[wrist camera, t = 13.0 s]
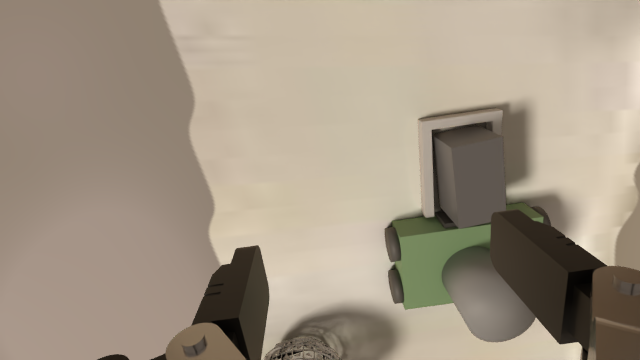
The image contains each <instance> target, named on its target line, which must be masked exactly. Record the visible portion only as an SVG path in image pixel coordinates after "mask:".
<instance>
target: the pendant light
mask: <svg viewBox="0 0 640 360" xmlns="http://www.w3.org/2000/svg"><path fill="white" fill-rule="evenodd" d="M296 341H297V342H296ZM301 341H303V342H301ZM304 341H307V342H306V343H304ZM310 341H311V342H312V343H311V342H310ZM294 342H296V343H295V344H294ZM302 345H303V349H302V350H301V349H299V348H300V347H301V346H302ZM295 346H296V347H297V349H299V350H293V347H295ZM304 346H306V347H307V348H309V349H304ZM314 346H316V348H318V349H316V348H315V347H314ZM285 348H287V349H286V352H283V351H285V350H284V349H285ZM291 349H292V350H291ZM321 349H322V350H321ZM290 350H291V351H290ZM304 351H314V359H311V358H305V357H304ZM320 351H321V352H320ZM333 351H334V352H333ZM280 352H282V353H281V354H280ZM299 352H300V353H301V352H303V358H293V354H296V353H298V354H296V355H295V356H300V353H299ZM315 352H316V353H317V354H318V355H317V357H319V358H320V359H318V358H316V359H315ZM275 354H277V355H275ZM319 354H322V355H323V357H322V356H319ZM290 355H292V358H291V359H288V358H290V357H289V356H290ZM306 355H309V356H311V355H310V354H309V353H307V354H306ZM283 357H284V358H285V359H287V360H294V359H303V360H322V358H323V359H324V360H340V358H339V357H338V354H337V353H336V352H335V350H334V349H332V348H330V347H329V346H328V345H327V344H325V343H322V342H321V341H318V340H316V339H315V340H314V339H312V338H306V337H295V338H292V339H290V340H287V341H282V342H281V343H278V344H276V346H275V347H274V349H272V350H271V351H270V352H268V353H267V354H266V356H265V357H264V359H263V360H278V359H280V358H281V360H284V359H283ZM311 357H312V356H311ZM325 358H326V359H325ZM327 358H328V359H327Z"/></svg>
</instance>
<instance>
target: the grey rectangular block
mask: <svg viewBox="0 0 640 360" xmlns="http://www.w3.org/2000/svg"><path fill="white" fill-rule="evenodd" d="M432 146H433V155H434V163H435V172H436V180H437V189H438V198H439V206H440V207H441V208H442V209H443V211H444V212H445V213H446V214H447V215H448V216H449V218H450V219H451V220H452V221H453V222H454V223H455V225H456V226H457V227H458V228H459V229H461V228H466V227H471V226H475V225H480V224H484V223H489V222H491V216H492V214H493V213H494V212H499V211H506V194H505V172H504V150H503V136H501V135H498V134H496V133H494V132H492V131H489V130H487V129H485V128H483V127H480V126H478V125H476V124H475V125H471V126H466V127H462V128H457V129H453V130H448V131H444V132H440V133H435V134H432Z"/></svg>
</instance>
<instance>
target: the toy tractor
mask: <svg viewBox="0 0 640 360" xmlns="http://www.w3.org/2000/svg"><path fill="white" fill-rule="evenodd" d="M502 114H503V110H501V109H497V108H492V109H485V110H478V111H471V112H465V113H458V114H451V115H444V116H437V117H430V118H424V119H418V138H419V160H420V182H421V204H422V213H423V215H424V217H417V218H410V219H403V220H396V221H392V227H390V228H385V241H386V247H387V252H388V256H389V259H390V261H391V262H395V268H396V269H395V270H389V271H388V278H389V285H390V290H391V295H392V298H393V301H394V303H395V304H396V303H403V305H404V308H405V310H406V309H413V308H420V307H427V306H435V305H442V304H449V303H454V304H455V306H456V307H457V309H458V311H459V313H460V314H461V316H462V318H463V319H464V321H465V323H466V324H467V326H468V328H469V330H470V331H471V333H472V334H473V335H474V336H476V337H477V338H479V339H481V340H484V341H487V342H503V341H507V340H510V339H513V338H515V337H517V336H519V335H521V334H522V333H523V332H525V331H526V330H527V329H528V328H529V327H530V326H531V325H532V323H533V322H534V320H535V318H536V316H535V315H534V314H533V313H532V312H531V311H530V309H529V308H528V307H527V306H526V305H525V304H524V302H523V301H522V300H521V299H520V298H519V297H518V296H517V294H516V293H515V292H514V291H513V290H512V289H511V287H510V286H509V285H508V284H507V283H506V282H505V280H504V279H503V278H502V277H501V276H500V275H499V273H498V272H497V271H496V270H495V268H494V266H493V264H492V261H491V257H490V236H491V222H489V223H484V224H480V225H475V226H471V227H466V228H461V229H459V228H458V227H457V226H456V225H455V223H454V222H453V221H452V220H451V219H450V218H449V216H448V215H447V214H446V213H445V212H444V211H442V212H436V215H434V192H433V161H432V130H434V129H440V128H447V127H454V126H461V125H468V124H475V123H482V122H486V129H487V130H489V131H492V132H494V133H496V134H498V135H501V136H502ZM513 209H518V210H520V211H522V212H523V213H524V214H526V215H527V216H528V217H530V218H531V219H532V220H534V221H539V222H541V223H544V224H546V225H549V226H551V224H550V220H549V217H548V215H547V214H546V212H545V211H544V210H543V209H542V208H540V207H529V206H527V205H526V204H524V203H523V202H522V203H515V204H508V205H506V210H513Z"/></svg>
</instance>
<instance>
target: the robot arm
mask: <svg viewBox="0 0 640 360" xmlns="http://www.w3.org/2000/svg"><path fill="white" fill-rule="evenodd" d="M490 257H491V261H492V264H493V266H494V268H495V270H496V271H497V272H498V273H499V275H500V276H501V277H502V278H503V279H504V280H505V282H506V283H507V284H508V285H509V286H510V287H511V289H512V290H513V291H514V292H515V293H516V294H517V296H518V297H519V298H520V299H521V300H522V301H523V302H524V304H525V305H526V306H527V307H528V308H529V309H530V311H531V312H532V313H533V314H534V315H535V316H536V318H537V319H538V320H539V321H540V322H541V323H542V324H543V326H544V327H545V328H546V329H547V330H548V331H549V333H550V334H551V335H552V336H553V337H554V338H555V340H556V341H557V342H558V343H559V344H566V343H574V342H579V343H580V344H581V345H582V350H581V359H580V360H640V271H639V270H635V269H631V268H627V267H621V266H607V265H605V264H604V263H603V262H601V261H600V260H598V259H597V258H596V257H594V256H593V255H591V254H590V253H589V252H587V251H586V250H584V249H583V248H582V247H580V246H579V245H575V242H573V241H572V240H570V239H569V238H568V237H567V238H566V237H565V235H563V234H562V233H561V232H559V231H558V230H556V229H555V228H554V227H551V226H549V225H546V224H544V223H541V222H539V221H534V220H532V219H531V218H530V217H528V216H527V215H526V214H524V213H523V212H522V211H520V210H518V209H513V210H506V211H499V212H494V213H493V214H492V216H491V236H490ZM204 295H205V296H204V297H203V299H202V301H201V304H200V306H199V309H198V311H197V313H196V316H195V318H194V321H193V323H192V325H191V326H190V327H188V328H186V329H184V330H182V331H181V332H180V333H178V334H177V335H176V336H175V337H174V338H173V339H172V340H171V341H170V343H169V344H168V346H167V348H166V353H165V354H163V355H161V356H159V357H156V358H154V359H151V360H261V354H262V347H263V340H264V333H265V327H266V320H267V313H268V306H269V287H268V281H267V277H266V273H265V268H264V264H263V259H262V255H261V251H260V248H259V246H258V245H257V246H250V247H243V248H237V249H236V250H235V253H234V256H233V259H232V261H231V264H226V265H222V266H221V267H220V268H219V269H218V270H217V271H216V272H215V273H214V274H213V275H212V277H211V280H210V282H209V284H208V288H207V289H206V292H205V294H204ZM98 360H129V359H128V358H127V357H126V356H124V355H119V354H116V355H109V356H106V357H103V358H100V359H98Z"/></svg>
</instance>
